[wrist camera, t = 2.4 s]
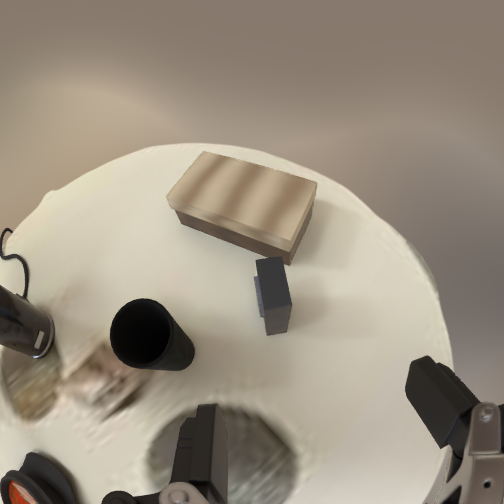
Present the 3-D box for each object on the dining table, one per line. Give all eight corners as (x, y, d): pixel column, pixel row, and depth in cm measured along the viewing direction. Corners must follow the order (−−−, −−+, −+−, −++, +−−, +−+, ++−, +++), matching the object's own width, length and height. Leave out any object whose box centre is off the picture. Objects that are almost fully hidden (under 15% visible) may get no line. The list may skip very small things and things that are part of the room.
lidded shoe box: (179, 226, 47) (165, 196, 40) (211, 182, 52) (203, 150, 45) (288, 268, 42) (290, 240, 35) (312, 214, 46) (317, 182, 39)
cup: (147, 334, 38) (105, 308, 28) (193, 320, 39) (164, 289, 29) (158, 383, 34) (116, 374, 24) (208, 370, 35) (181, 358, 25)
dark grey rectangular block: (263, 336, 37) (259, 310, 27) (257, 298, 40) (251, 260, 29) (287, 332, 37) (292, 305, 27) (280, 295, 40) (281, 255, 29)
